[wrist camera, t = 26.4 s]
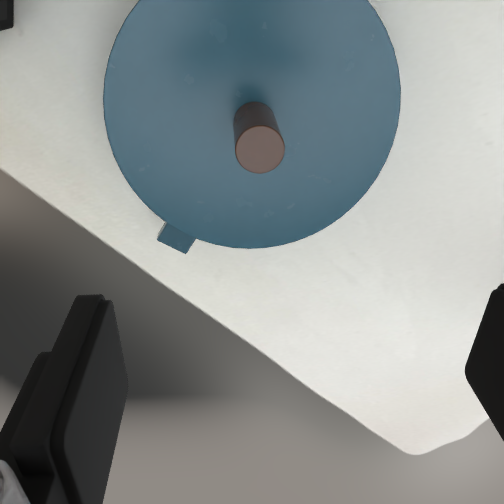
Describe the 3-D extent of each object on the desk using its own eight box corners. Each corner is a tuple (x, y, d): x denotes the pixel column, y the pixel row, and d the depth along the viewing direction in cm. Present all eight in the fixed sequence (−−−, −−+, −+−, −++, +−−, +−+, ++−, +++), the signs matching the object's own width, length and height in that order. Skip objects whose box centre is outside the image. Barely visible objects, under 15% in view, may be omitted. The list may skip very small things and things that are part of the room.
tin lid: (62, 164, 29) (28, 205, 24) (196, -139, 22) (188, -173, 17) (288, 278, 35) (299, 330, 30) (455, 69, 28) (509, 91, 23)
